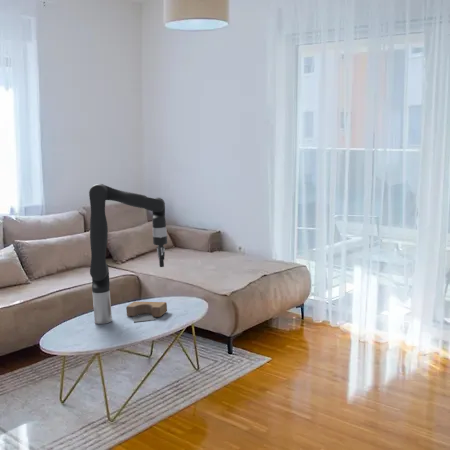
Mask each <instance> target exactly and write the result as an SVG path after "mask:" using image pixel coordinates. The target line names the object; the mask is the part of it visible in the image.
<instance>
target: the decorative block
mask: <svg viewBox="0 0 450 450" xmlns="http://www.w3.org/2000/svg"><path fill="white" fill-rule="evenodd" d="M125 308H126V309H125V310H126V316H127V317H133V316H136V315H142V314H152V316H153V317H156V318H159V317H160V318H161V317H162V316H163V315H164V314H165V313H167V312H168V304H167V302H166V301H133V302H131V303H130V304H128V305H127V306H126V307H125Z"/></svg>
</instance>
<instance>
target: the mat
mask: <svg viewBox="0 0 450 450" xmlns="http://www.w3.org/2000/svg"><path fill="white" fill-rule="evenodd" d="M132 319H133V323H134V324H135V323H142V322H143V323H144V322H151V321H157V317H153V316H152V314H139V315H136V316H132Z"/></svg>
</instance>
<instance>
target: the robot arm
mask: <svg viewBox="0 0 450 450" xmlns="http://www.w3.org/2000/svg"><path fill="white" fill-rule="evenodd" d="M88 194H89V195H88V196H89V205H90V218H89V219H90V220H89V221H90V222H89V223H90V224H89V242H90V252H91V253H90V254H91V255H90V256H91V258H90V259H91V260H90V267H89V274H90V277H91V283H92V285H91V293H92V303H93V305H92V306H93V316H94V324H95V325H96V324H98V325H104V324H105V325H106V324H108V323H111V322H112V321H113V316H112V304H111V303H112V302H111V292H110V291H111V288H110V285H111V284H110V271H109V266H108V264H107V262H106V260H107V259H106V252H107V245H108V238H109V237H108V236H109V234H108V233H109V228H108V221H107V217H106V201H113V202H118V203H121V204H124V205H126V206H128V207H133V208H138V209H144V210H147V211H150V212H152V245H154V246H156V252H157V253H156V254H157V259H158V261H159V264H158V265H159V267H160V268H164V267H165V263H164V261H165V250H166V249H165V248H166V247H165V246H164V245H167V244H168V233H167V231H168V230H167V223H166V203H165V200H164V199H163V198H162V197H154V198H153V197H149V196H147V195H145V194H139V193H134V192H131V191H130V192H129V191H124V190H121V189H116V188H113V187H112V186H111V187H110V186H108V185H105V184H103V183H95V184H94V185H92V186H91V187H90V188H89V191H88Z"/></svg>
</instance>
